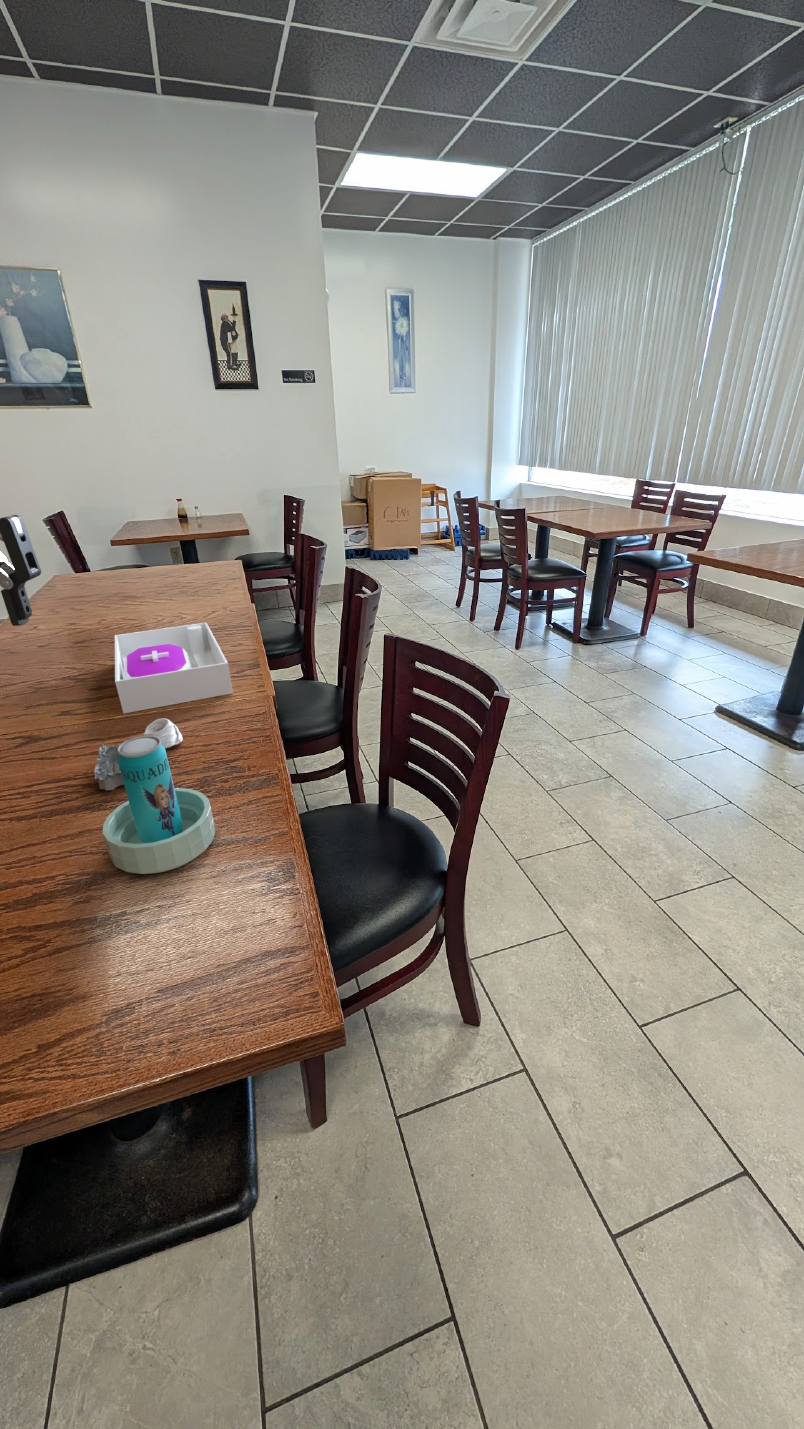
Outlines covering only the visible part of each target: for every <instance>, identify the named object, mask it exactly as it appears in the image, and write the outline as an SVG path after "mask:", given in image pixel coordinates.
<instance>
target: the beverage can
mask: <svg viewBox="0 0 804 1429" xmlns="http://www.w3.org/2000/svg"><path fill="white" fill-rule="evenodd" d="M117 748H118V750H117V751H118V753H119V756H118V764H119V767H120V771H121V775H122V778H123V782H124V785H123V786H124V789H125V794H126V796H127V801H129V804H130V807H131V811H132V814H133V818H134V822H135V825H136V829H137V833H138V836H139V838H140V840H141V841H142V842H143V843H153V842H157V841H161V840H165V839H168V838H171V837H173V836H175V835H177V834H180V833H182V828H183V823H182V818H181V814H180V810H179V806H178V801H177V797H176V793H175V788H176V787H175V785H174V781H173V776H172V771H171V768H170V762H169V759H168V755H167V751H166V748H164V747H163V746H162V745H161V740H160V739H159V738H158V737H155V736H144V735H141V736H136V737H132V738H130V739H129V738H128V739H127V740H125V741H123V742H121V743H120V744H119V745H118V746H117Z"/></svg>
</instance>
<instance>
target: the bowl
mask: <svg viewBox="0 0 804 1429" xmlns="http://www.w3.org/2000/svg"><path fill="white" fill-rule="evenodd" d="M174 788H175V793H176V797H177V801H178V806H179V810H180V814H181V818H182V823H183V828H182V833H180V834H177V835H175V836H173V837H171V838H168V839H165V840H161V841H157V842H153V843H143V842H142V841H141V840H140V838H139V836H138V833H137V829H136V825H135V822H134V818H133V814H132V811H131V807H130V804H129V800H127V801H124V802H123V803H121V804H120V805H118V806H117V807H116V808H114V810H113V811H111V812H110V813H109V814H108V815H107V817H106V818H105V820H104V822H103V824H102V836H103V840H104V843H105V846H106V850H107V852H108V856H109V859H110V862H112V864H113V865H114V866H115V867H116V868H117V869H120V870H121V871H124V872H125V873H132V874H139V875H149V874H150V875H151V874H159V873H164V872H169V871H172V870H175V869H178V868H180V867H182V866H184V865H186V864H188V863H189V862H191V861H193V860H194V859H196V858H197V857H198V856H200V855H201V854H203V853H204V852H205V851H206V850H207V848H208V847H209V846H210V845H211V844H212V843H213V840H214V838H215V835H216V827H215V821H214V817H213V812H212V807H211V803H210V799H209V798H208V797H207V796H206V795H205V794H204V793H203V792H201V791H198V790H195V789H192V788H185V787H174Z"/></svg>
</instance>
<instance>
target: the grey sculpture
mask: <svg viewBox="0 0 804 1429" xmlns="http://www.w3.org/2000/svg"><path fill="white" fill-rule="evenodd" d="M117 750H118V746H117V745H114V744H110V745H106V744H105V743H104V742H103V743H101V744H100V746H99V749H98V753H97V756H98V758H97V759H96V764H95V767H94V780H95V781H97V782H98V786H99V789H100V790H105V791H113V790H114V789H115V788H117V787H121V786H124V782H123V778H122V775H121V771H120V767H119V764H118V756H119V753H118V751H117Z"/></svg>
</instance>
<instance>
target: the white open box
mask: <svg viewBox="0 0 804 1429" xmlns="http://www.w3.org/2000/svg"><path fill="white" fill-rule="evenodd" d="M114 682H115V687H116V690H117V694H118V698H119V702H120V705H121V710H122V713H123V714H129V713H135V712H139V711H140V712H141V711H145V710H146V711H147V710H151V709H157V708H161V707H166V706H172V705H177V704H182V703H183V704H184V703H188V702H194V701H199V700H204V699H210V698H215V697H221V696H227V695H230V694H234V690H233V684H232V677H231V672H230V665H229V662H228V660H227V657H226V656H225V654H224V653H223V651H222V649H221V646H220V645H219V643H218V641H217V639H216V638H215V636H214V634H213V632H212V630H211V628H210V626H209V624H208V622H199V623H192V624H185V625H177V626H170V627H164V628H157V629H156V628H155V629H148V630H142V631H136V632H127V633H122V634H120V633H119V634H115V635H114Z"/></svg>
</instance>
